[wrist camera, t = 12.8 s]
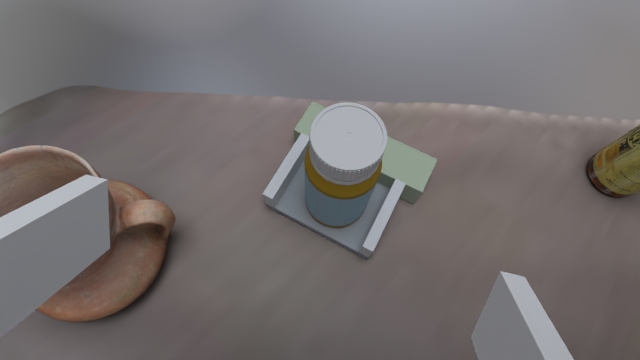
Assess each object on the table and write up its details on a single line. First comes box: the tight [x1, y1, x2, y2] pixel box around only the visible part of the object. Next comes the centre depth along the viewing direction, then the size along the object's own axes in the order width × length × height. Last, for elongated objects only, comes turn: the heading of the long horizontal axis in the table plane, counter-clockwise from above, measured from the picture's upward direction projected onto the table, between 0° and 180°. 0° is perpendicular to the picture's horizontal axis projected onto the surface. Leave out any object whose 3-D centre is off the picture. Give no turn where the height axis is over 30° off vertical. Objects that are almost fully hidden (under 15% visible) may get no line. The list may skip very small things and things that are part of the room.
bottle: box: [304, 102, 387, 227], centre depth 37 cm, size 7×7×15 cm
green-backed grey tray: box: [263, 101, 437, 259], centre depth 44 cm, size 16×13×4 cm
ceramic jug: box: [0, 145, 176, 322], centre depth 35 cm, size 18×14×14 cm
